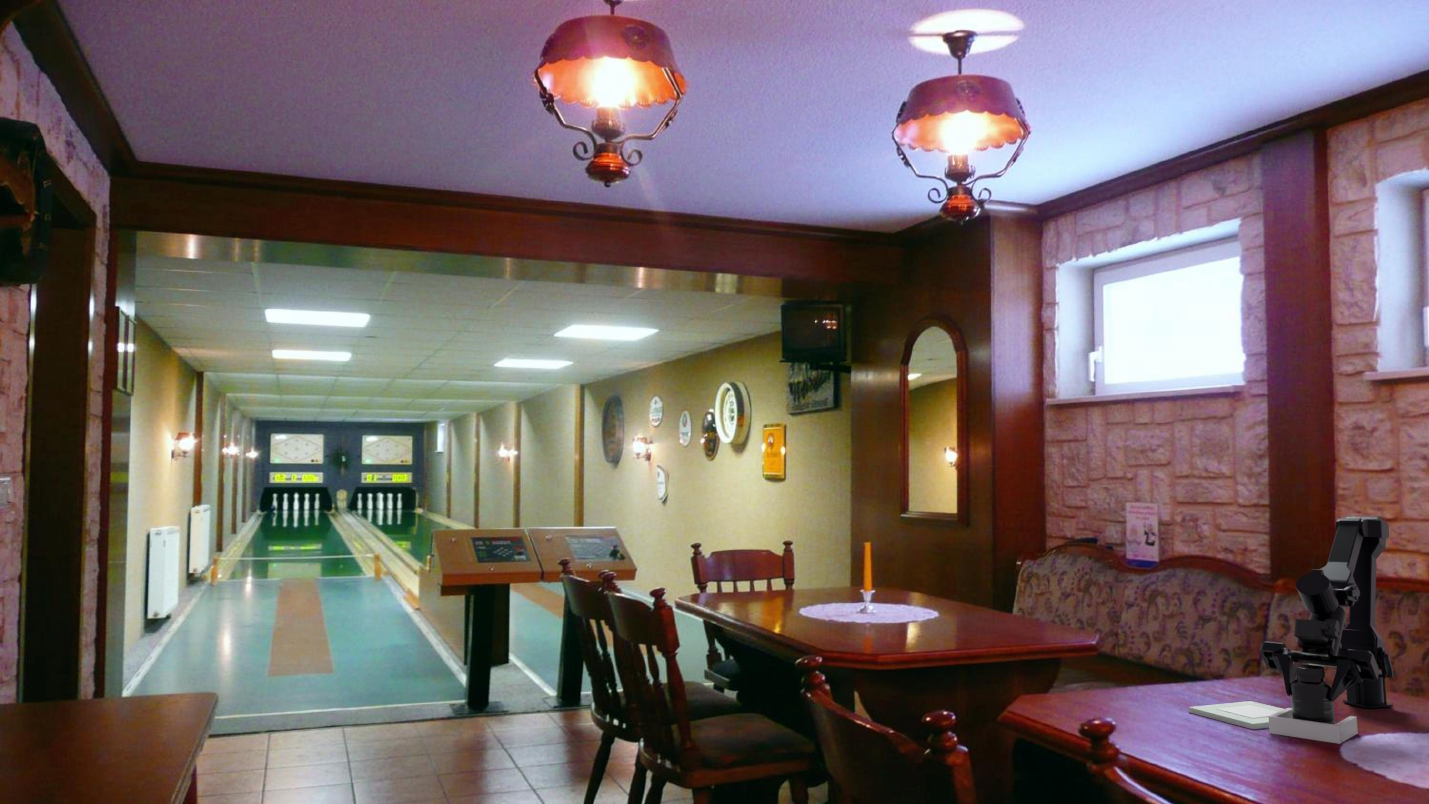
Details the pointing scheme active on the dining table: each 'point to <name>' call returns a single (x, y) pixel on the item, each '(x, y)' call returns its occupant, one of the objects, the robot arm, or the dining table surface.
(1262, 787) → the dining table surface
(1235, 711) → the docking plate
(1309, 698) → the supplement bottle
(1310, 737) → the holster
